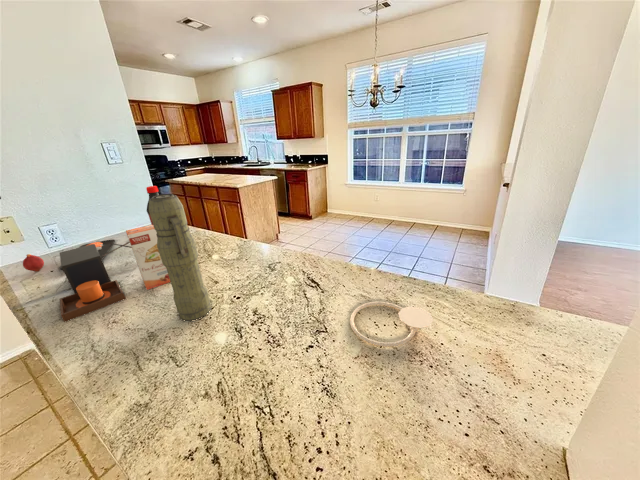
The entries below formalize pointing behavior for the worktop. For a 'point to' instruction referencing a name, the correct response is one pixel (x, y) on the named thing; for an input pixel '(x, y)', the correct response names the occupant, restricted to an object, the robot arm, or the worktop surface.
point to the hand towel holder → (408, 315)
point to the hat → (90, 293)
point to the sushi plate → (104, 247)
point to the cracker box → (148, 256)
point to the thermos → (179, 256)
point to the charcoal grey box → (83, 266)
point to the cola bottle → (152, 192)
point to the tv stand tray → (72, 311)
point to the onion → (33, 263)
